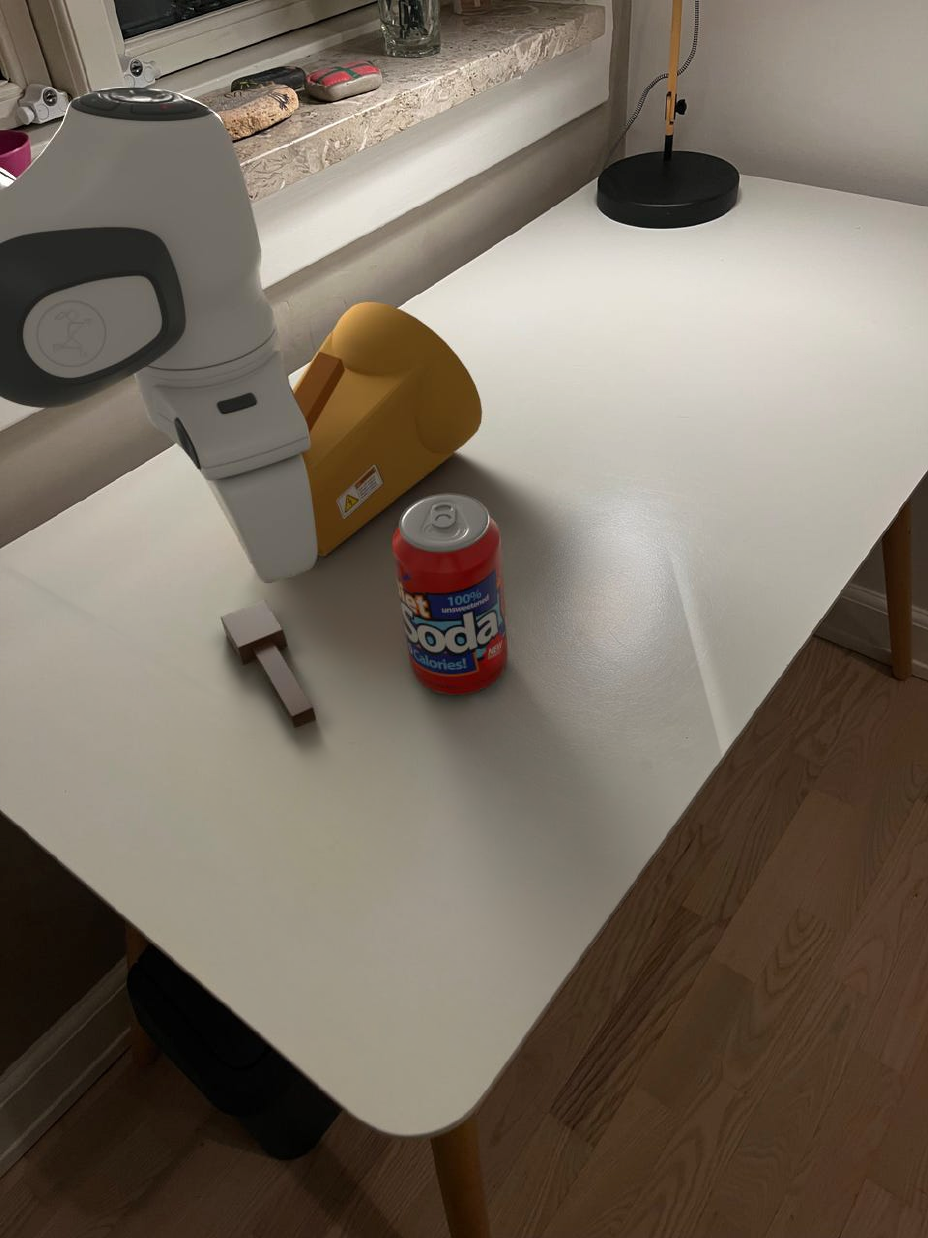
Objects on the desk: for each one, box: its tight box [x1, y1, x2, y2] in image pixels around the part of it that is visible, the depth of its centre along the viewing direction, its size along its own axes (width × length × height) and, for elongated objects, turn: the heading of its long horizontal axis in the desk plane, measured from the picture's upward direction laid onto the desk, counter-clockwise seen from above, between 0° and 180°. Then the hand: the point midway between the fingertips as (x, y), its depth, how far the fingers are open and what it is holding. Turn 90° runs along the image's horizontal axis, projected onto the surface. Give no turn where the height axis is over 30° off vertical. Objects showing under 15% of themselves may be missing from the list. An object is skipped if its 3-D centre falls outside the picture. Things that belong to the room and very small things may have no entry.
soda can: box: [392, 492, 508, 696], centre depth 78 cm, size 8×8×15 cm
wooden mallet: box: [220, 599, 317, 729], centre depth 83 cm, size 13×4×2 cm, turn 29°
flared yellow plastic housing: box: [292, 301, 483, 557], centre depth 96 cm, size 20×17×18 cm
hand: (257, 552), depth 72 cm, fingers closed
